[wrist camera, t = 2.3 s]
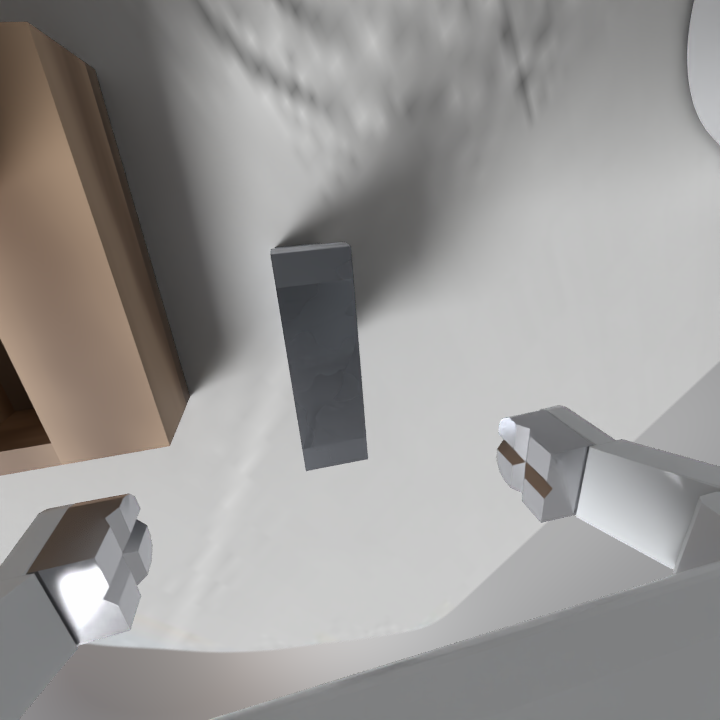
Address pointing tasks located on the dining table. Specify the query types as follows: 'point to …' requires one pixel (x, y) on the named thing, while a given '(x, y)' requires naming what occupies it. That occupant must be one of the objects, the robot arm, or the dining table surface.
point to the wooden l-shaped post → (73, 274)
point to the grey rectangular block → (322, 350)
